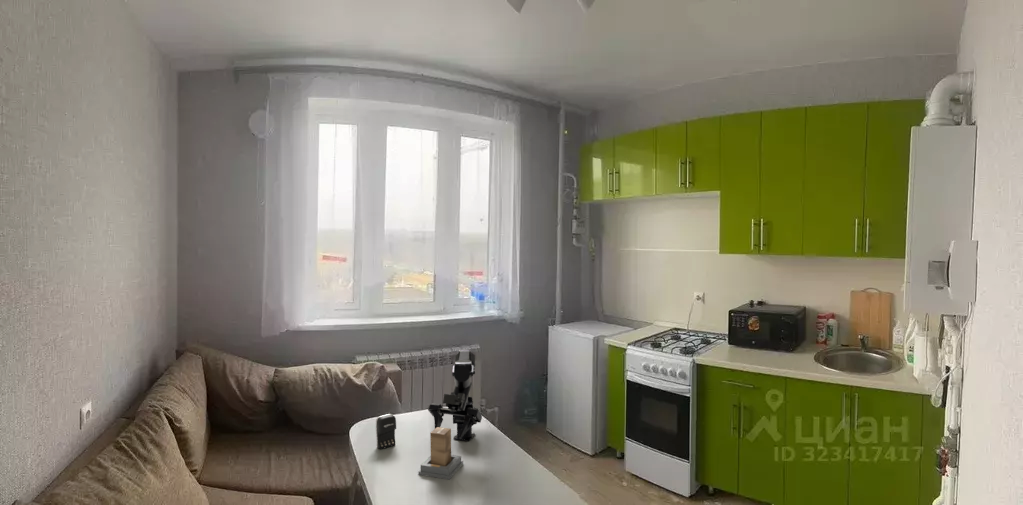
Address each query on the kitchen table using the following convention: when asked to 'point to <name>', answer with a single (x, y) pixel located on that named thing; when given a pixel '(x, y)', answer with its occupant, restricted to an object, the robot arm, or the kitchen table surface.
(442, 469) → the square gray tray
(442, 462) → the tall cardboard box
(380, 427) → the battery charger
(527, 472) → the kitchen table surface
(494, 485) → the kitchen table surface
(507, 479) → the kitchen table surface
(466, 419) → the robot arm
